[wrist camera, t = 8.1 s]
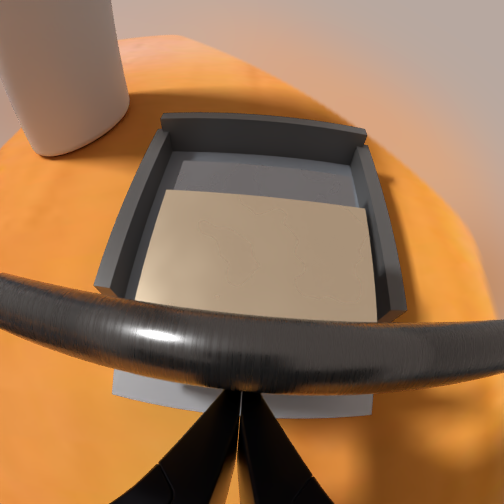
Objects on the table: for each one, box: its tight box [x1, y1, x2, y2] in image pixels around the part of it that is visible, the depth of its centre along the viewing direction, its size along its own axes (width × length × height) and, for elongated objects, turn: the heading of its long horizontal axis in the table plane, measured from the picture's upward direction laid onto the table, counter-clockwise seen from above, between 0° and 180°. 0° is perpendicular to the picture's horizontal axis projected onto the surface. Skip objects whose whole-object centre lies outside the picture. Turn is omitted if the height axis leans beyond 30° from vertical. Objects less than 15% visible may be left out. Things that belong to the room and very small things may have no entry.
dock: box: [94, 112, 407, 418], centre depth 16 cm, size 19×16×5 cm
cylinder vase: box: [0, 0, 130, 156], centre depth 15 cm, size 12×12×25 cm
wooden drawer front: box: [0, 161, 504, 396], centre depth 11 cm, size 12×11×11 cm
